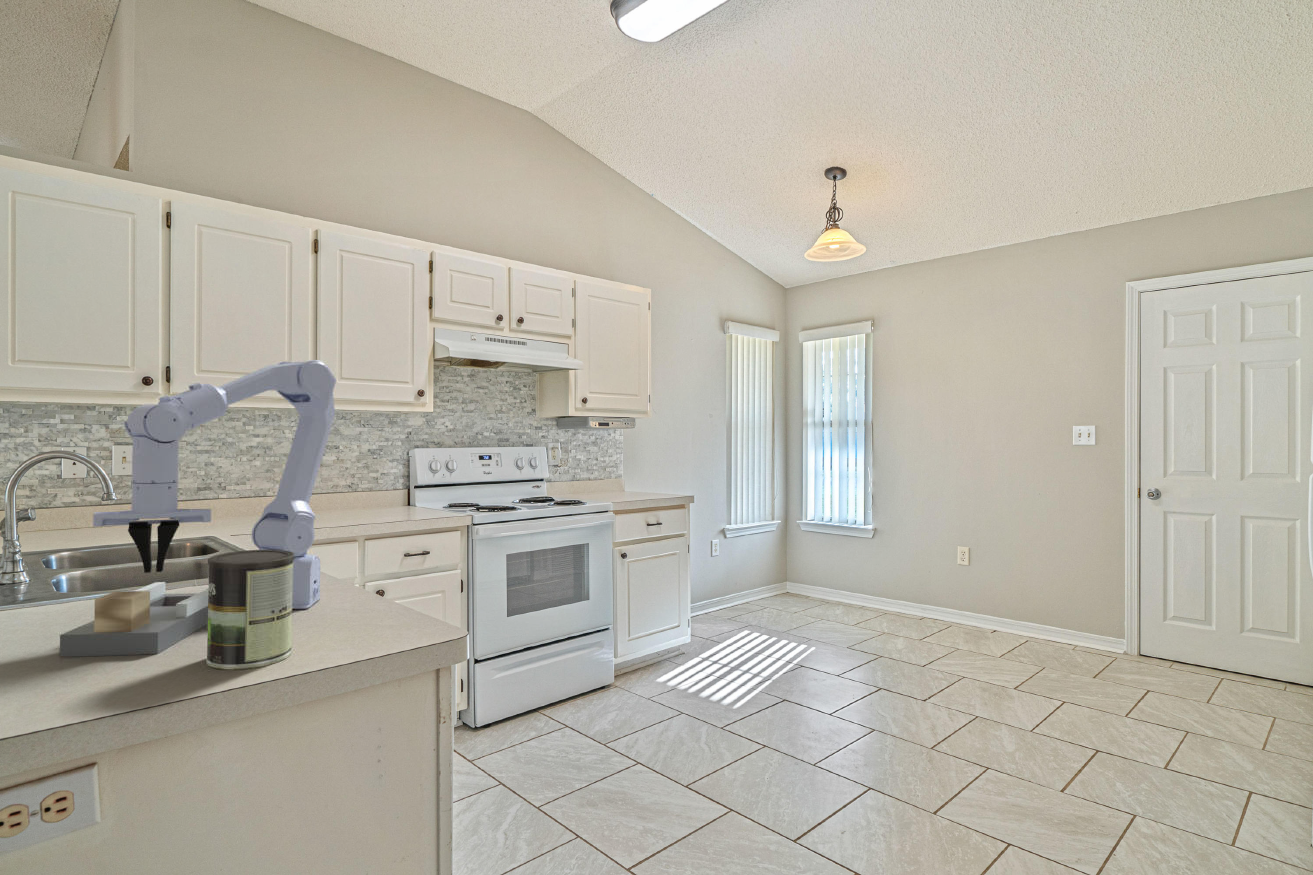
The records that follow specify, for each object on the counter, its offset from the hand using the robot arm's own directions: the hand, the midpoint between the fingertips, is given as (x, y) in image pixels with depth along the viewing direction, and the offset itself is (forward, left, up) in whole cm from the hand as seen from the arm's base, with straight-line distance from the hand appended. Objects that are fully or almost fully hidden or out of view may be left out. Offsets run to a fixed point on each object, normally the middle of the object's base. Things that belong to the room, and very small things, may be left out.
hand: (153, 571), depth 106 cm
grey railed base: (0, -1, -9) cm, 9 cm away
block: (0, +8, -6) cm, 10 cm away
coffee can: (-19, +14, -10) cm, 26 cm away
